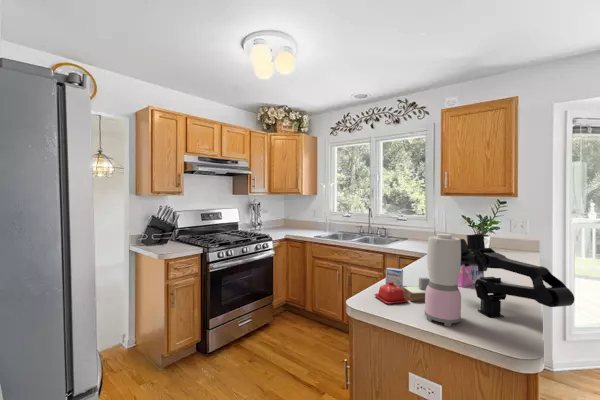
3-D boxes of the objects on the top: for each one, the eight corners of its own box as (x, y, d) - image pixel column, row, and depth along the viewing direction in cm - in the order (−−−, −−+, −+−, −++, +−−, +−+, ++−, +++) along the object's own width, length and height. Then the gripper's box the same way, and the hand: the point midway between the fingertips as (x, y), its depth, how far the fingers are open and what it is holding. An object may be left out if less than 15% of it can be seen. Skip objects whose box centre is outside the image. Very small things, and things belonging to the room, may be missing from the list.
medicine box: (385, 285, 150) (385, 268, 149) (387, 283, 153) (387, 267, 153) (401, 288, 146) (401, 270, 146) (402, 285, 150) (403, 269, 150)
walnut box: (441, 301, 129) (441, 292, 128) (411, 302, 127) (411, 293, 127) (428, 293, 138) (428, 285, 138) (400, 294, 136) (400, 286, 136)
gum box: (470, 277, 167) (471, 253, 167) (485, 280, 161) (486, 256, 161) (447, 283, 154) (448, 258, 154) (462, 288, 148) (463, 261, 147)
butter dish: (386, 306, 122) (386, 286, 122) (372, 296, 134) (373, 278, 133) (410, 303, 125) (410, 284, 125) (394, 294, 137) (395, 276, 136)
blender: (455, 330, 101) (457, 238, 100) (419, 319, 109) (421, 234, 108) (466, 316, 112) (468, 233, 112) (433, 307, 121) (435, 230, 120)
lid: (437, 293, 129) (437, 280, 129) (411, 294, 128) (412, 281, 127) (427, 288, 137) (427, 275, 137) (403, 288, 135) (403, 276, 135)
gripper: (485, 237, 127) (459, 238, 143) (449, 243, 123) (426, 243, 138) (491, 262, 126) (464, 261, 141) (454, 269, 122) (430, 267, 137)
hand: (446, 257), depth 139 cm, fingers open, 9 cm apart
